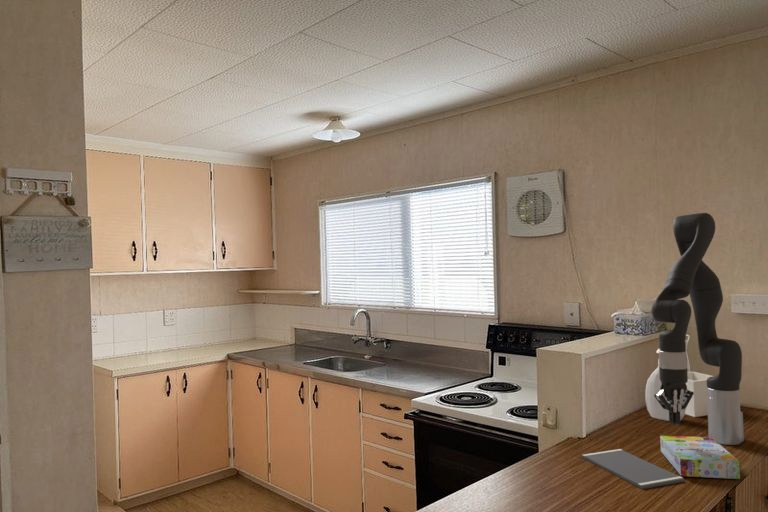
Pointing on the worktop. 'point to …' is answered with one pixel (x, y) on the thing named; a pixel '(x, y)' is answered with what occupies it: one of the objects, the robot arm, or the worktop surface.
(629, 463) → the gray tablet computer
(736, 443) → the robot arm
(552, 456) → the worktop surface
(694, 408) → the utensil crock
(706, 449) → the snack box
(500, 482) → the worktop surface
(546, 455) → the worktop surface
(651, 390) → the soap bottle
